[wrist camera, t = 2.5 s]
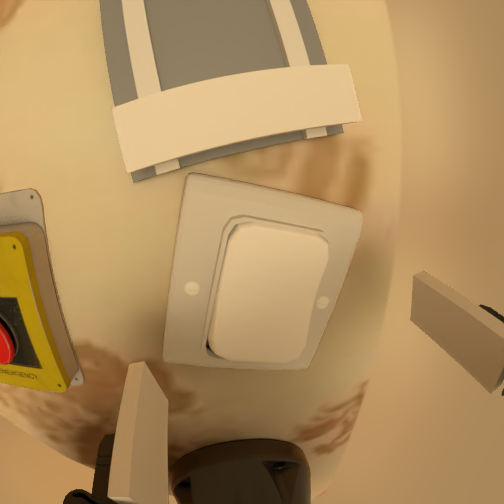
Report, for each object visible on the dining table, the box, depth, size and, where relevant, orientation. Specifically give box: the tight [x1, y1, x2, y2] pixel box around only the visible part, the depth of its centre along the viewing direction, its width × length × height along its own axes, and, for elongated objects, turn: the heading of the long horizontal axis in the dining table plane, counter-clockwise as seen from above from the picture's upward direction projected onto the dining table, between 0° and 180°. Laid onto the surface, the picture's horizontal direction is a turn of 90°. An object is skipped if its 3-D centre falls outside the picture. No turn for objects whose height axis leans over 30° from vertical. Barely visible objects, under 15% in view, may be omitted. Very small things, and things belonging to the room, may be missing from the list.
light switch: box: [162, 173, 363, 370], centre depth 17 cm, size 11×4×13 cm
